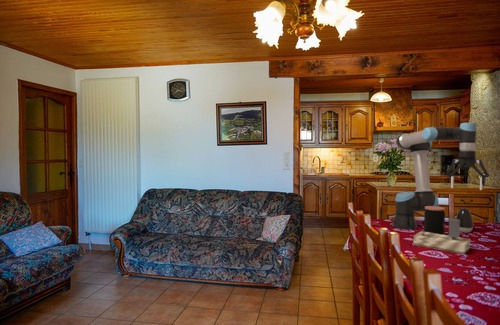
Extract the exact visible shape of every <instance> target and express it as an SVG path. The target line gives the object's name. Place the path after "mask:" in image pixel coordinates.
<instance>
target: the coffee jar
mask: <svg viewBox="0 0 500 325" xmlns="http://www.w3.org/2000/svg"><path fill="white" fill-rule="evenodd" d="M445 211H446V208H445V207H442V206H425V211H423V212H424V215H423V219H424V221H423V232H429V233H435V234H442V235H445V227H446V226H445V224H446V223H445V222H446V212H445Z"/></svg>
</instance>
